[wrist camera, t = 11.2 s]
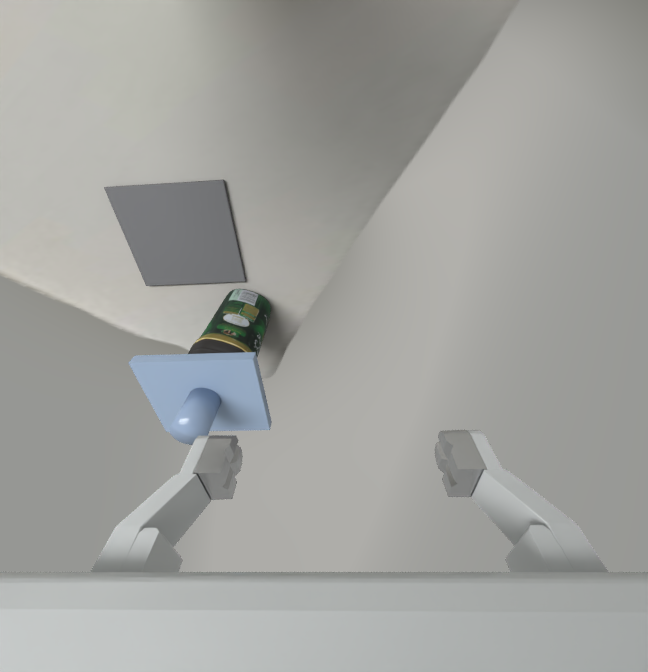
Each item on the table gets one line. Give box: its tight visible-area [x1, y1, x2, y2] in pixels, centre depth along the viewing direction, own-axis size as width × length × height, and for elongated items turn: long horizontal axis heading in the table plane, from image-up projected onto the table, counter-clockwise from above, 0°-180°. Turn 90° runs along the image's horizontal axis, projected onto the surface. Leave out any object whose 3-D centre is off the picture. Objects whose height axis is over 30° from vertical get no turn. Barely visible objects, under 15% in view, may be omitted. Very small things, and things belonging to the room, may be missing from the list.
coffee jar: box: [188, 289, 271, 357], centre depth 41 cm, size 10×8×19 cm
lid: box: [129, 352, 271, 445], centre depth 31 cm, size 11×13×6 cm
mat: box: [104, 180, 246, 286], centre depth 41 cm, size 14×16×1 cm
